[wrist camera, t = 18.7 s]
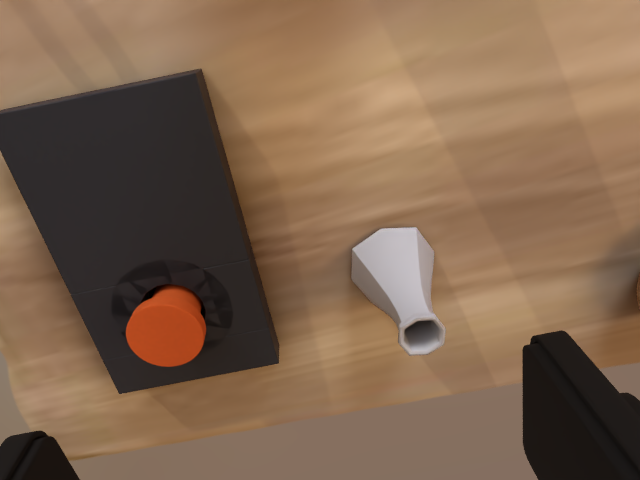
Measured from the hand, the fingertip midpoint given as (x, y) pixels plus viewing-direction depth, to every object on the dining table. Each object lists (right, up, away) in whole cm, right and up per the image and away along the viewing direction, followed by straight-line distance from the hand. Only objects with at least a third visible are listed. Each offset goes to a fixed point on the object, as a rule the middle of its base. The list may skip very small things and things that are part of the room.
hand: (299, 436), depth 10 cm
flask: (+6, +2, +31) cm, 32 cm away
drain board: (-12, +4, +29) cm, 32 cm away
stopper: (-11, -1, +31) cm, 33 cm away
